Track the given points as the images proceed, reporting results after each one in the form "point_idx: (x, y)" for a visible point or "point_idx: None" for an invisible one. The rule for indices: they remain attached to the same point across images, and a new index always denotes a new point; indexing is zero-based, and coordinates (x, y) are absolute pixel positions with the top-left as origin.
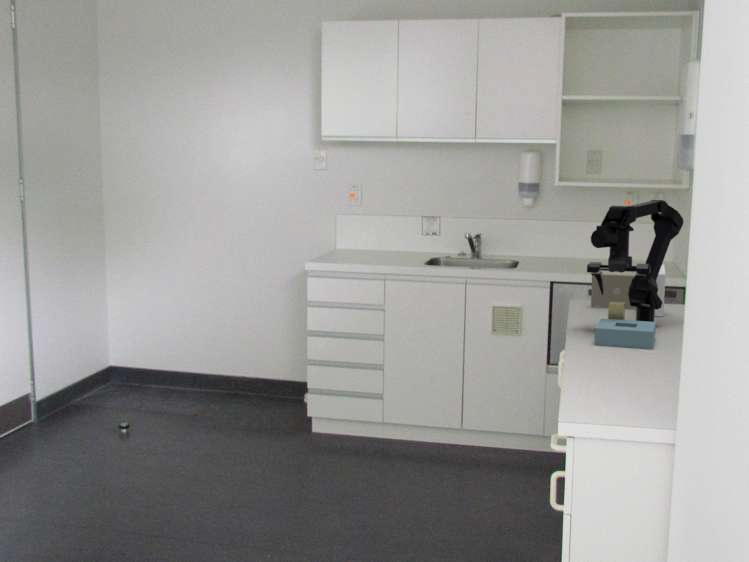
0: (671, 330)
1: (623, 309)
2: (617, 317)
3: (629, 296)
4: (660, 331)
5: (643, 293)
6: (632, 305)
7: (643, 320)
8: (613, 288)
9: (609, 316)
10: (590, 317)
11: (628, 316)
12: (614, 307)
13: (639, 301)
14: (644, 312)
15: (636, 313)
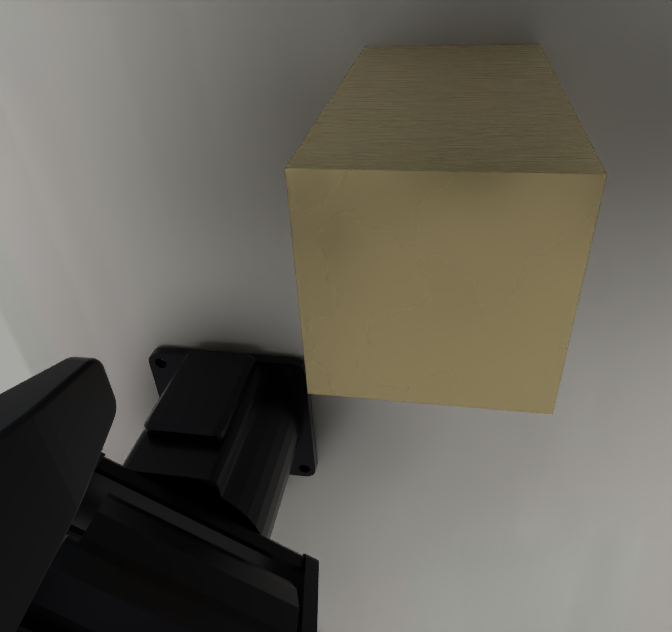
0: (31, 308)
1: (311, 134)
2: (420, 92)
3: (294, 624)
4: (80, 249)
5: (72, 602)
6: (297, 558)
7: (212, 382)
8: None
9: (546, 95)
10: (641, 591)
11: (386, 624)
12: (474, 148)
13: (185, 536)
14: (183, 445)
15: (272, 477)
